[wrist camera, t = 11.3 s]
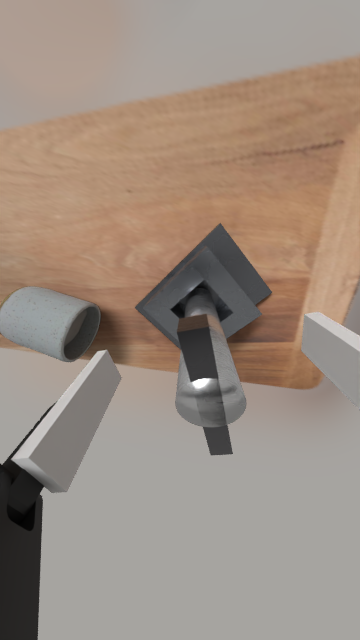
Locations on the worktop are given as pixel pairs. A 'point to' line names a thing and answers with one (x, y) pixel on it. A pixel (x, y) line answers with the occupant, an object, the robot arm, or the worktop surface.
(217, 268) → the chuck block
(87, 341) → the ceramic mug
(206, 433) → the t key
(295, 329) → the worktop surface
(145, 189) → the worktop surface
